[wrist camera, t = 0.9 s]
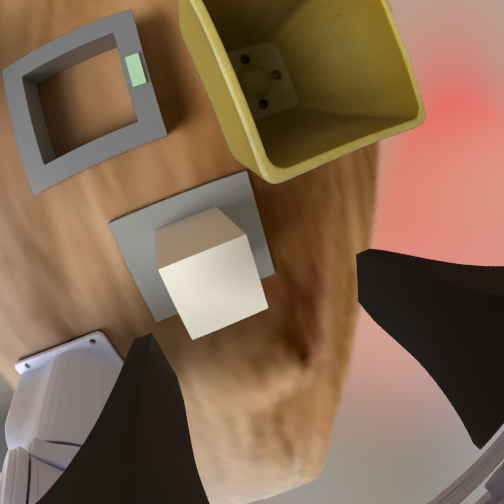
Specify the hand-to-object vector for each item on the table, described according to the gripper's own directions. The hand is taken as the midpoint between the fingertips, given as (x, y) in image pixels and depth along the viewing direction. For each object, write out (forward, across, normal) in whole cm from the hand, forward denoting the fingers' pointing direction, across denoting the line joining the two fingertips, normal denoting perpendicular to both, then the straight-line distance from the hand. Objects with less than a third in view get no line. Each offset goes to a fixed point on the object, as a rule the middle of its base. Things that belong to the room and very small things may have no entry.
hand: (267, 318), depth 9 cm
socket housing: (+10, +5, -10) cm, 15 cm away
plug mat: (+10, +1, +1) cm, 11 cm away
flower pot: (+11, -5, -8) cm, 15 cm away
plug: (+10, +1, +1) cm, 10 cm away
